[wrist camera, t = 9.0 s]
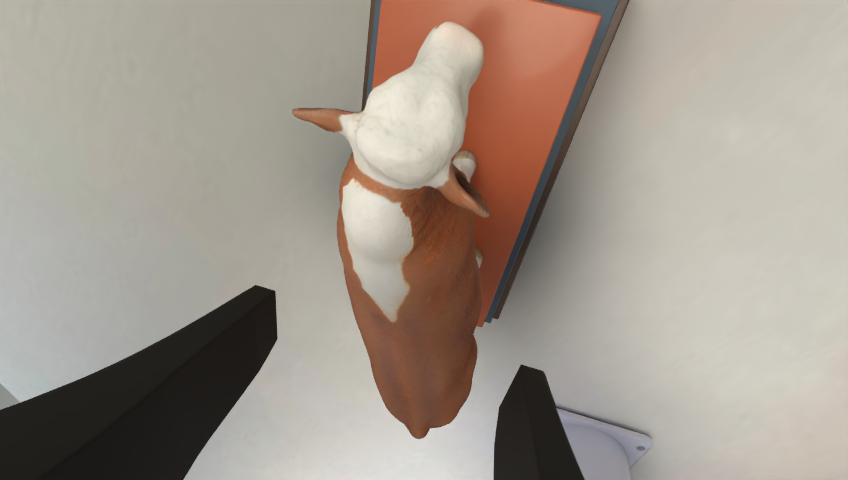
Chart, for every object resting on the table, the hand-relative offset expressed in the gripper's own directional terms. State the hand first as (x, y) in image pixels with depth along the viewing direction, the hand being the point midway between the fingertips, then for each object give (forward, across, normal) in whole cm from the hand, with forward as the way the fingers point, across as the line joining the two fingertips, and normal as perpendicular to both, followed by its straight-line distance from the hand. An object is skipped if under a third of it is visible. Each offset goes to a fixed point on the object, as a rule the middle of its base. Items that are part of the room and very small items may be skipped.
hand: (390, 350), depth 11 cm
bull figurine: (+7, 0, -2) cm, 8 cm away
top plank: (+8, 0, -2) cm, 8 cm away
